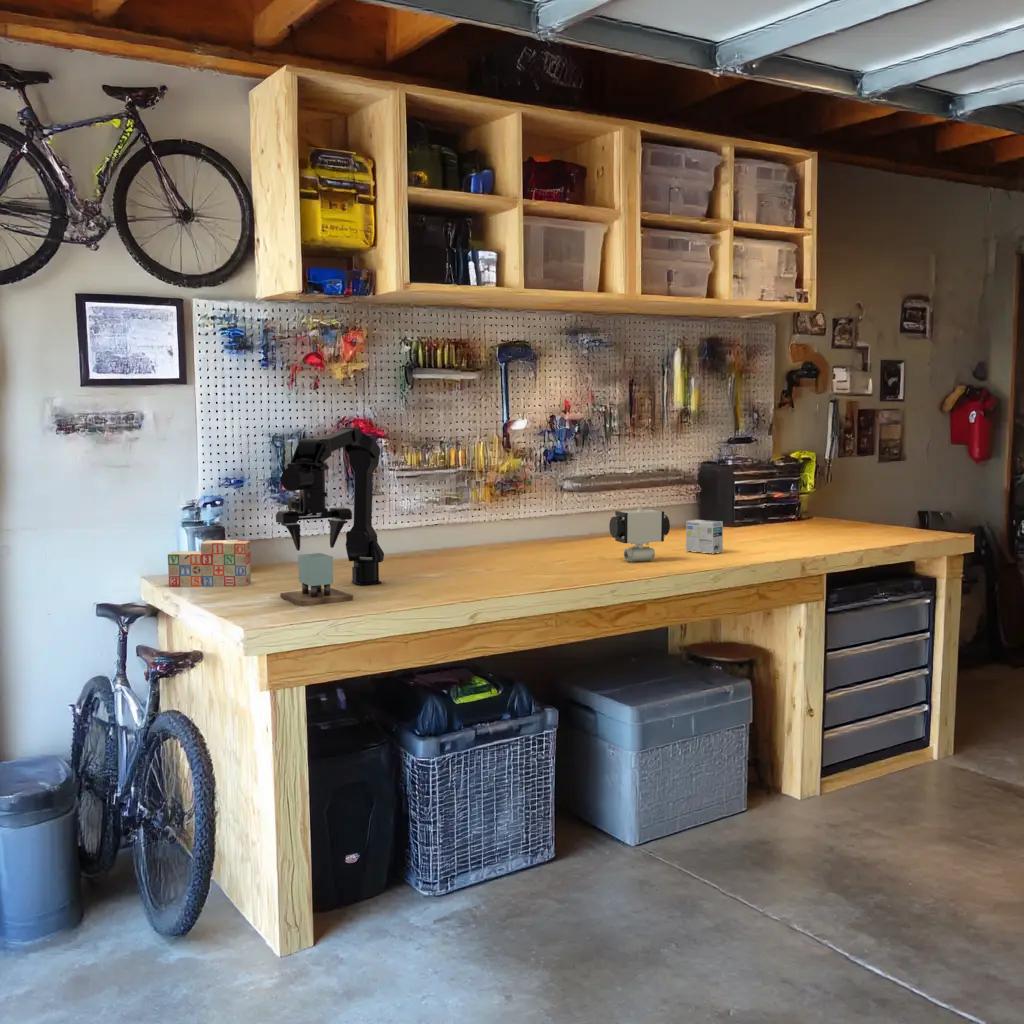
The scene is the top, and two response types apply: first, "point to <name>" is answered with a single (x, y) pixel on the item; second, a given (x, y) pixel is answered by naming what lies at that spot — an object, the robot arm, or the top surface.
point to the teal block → (315, 569)
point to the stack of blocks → (211, 565)
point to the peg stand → (316, 595)
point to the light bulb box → (704, 536)
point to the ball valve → (639, 531)
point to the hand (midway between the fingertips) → (315, 549)
